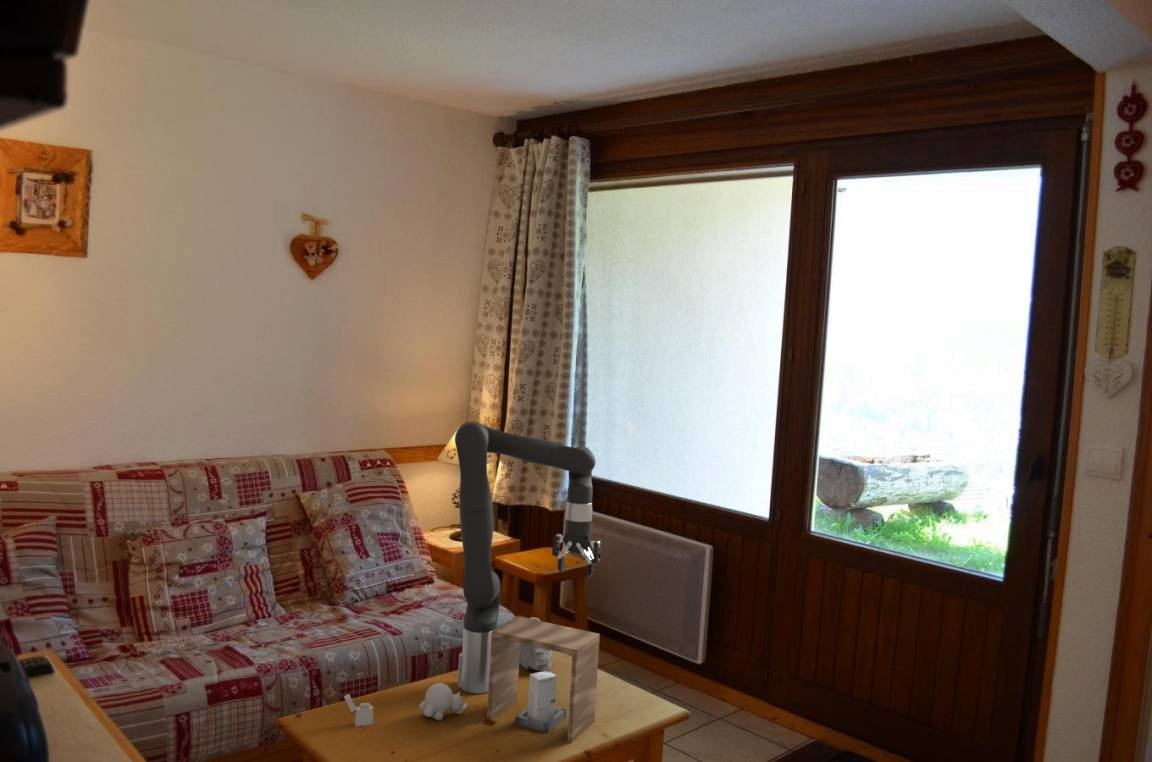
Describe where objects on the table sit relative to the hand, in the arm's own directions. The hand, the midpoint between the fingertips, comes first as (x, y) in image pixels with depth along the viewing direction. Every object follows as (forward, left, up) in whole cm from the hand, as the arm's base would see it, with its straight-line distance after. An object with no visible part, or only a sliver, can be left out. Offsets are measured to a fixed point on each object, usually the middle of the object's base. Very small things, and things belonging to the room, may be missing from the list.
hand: (575, 573), depth 253 cm
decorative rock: (-16, +8, -33) cm, 38 cm away
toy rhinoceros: (-20, -34, -33) cm, 52 cm away
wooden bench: (+3, -23, -33) cm, 40 cm away
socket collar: (+3, -23, -33) cm, 40 cm away
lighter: (-35, -50, -33) cm, 70 cm away
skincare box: (+3, -23, -33) cm, 40 cm away
